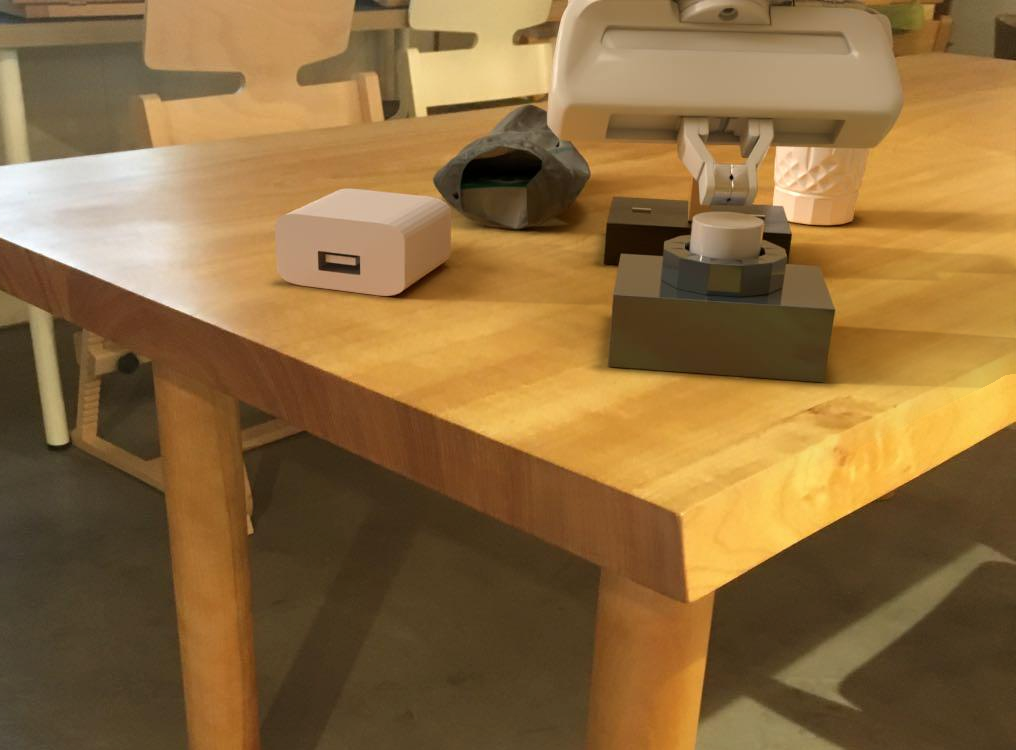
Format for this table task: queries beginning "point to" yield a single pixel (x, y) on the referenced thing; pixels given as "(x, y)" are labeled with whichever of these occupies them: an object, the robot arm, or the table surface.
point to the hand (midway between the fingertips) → (728, 200)
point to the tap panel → (674, 225)
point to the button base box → (721, 314)
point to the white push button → (726, 235)
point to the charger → (363, 241)
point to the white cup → (818, 183)
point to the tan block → (695, 200)
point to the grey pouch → (514, 173)
